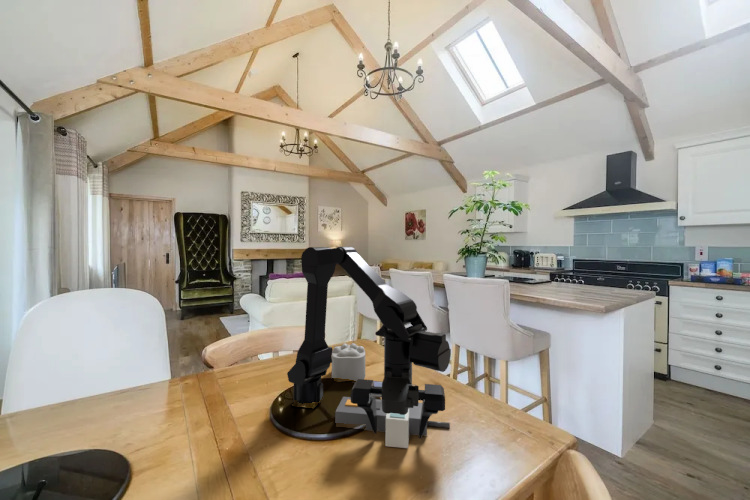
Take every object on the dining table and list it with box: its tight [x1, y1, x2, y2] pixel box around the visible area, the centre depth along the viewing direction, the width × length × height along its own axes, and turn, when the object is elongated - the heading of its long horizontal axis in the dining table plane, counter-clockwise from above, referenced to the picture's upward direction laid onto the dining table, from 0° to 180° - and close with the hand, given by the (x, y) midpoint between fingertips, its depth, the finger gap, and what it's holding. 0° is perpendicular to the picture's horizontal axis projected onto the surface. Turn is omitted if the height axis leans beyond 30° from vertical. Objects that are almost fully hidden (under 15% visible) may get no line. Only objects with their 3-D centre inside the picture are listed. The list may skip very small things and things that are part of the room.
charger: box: [384, 409, 410, 449], centre depth 66 cm, size 4×7×6 cm
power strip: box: [334, 396, 451, 437], centre depth 72 cm, size 25×7×4 cm, turn 81°
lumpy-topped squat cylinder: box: [331, 342, 366, 381], centre depth 100 cm, size 10×13×9 cm
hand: (397, 435), depth 65 cm, fingers open, 9 cm apart
